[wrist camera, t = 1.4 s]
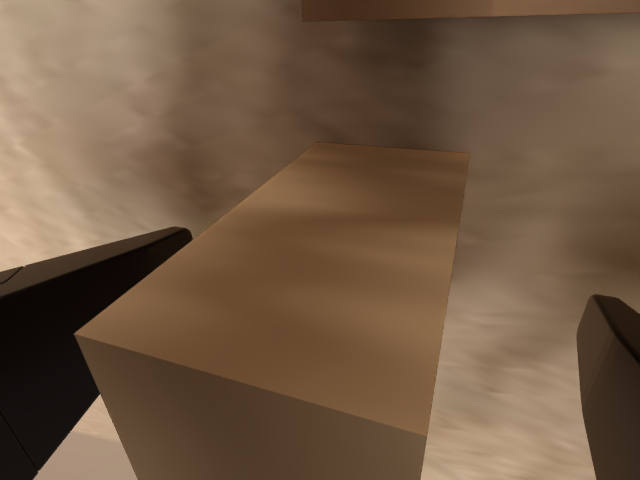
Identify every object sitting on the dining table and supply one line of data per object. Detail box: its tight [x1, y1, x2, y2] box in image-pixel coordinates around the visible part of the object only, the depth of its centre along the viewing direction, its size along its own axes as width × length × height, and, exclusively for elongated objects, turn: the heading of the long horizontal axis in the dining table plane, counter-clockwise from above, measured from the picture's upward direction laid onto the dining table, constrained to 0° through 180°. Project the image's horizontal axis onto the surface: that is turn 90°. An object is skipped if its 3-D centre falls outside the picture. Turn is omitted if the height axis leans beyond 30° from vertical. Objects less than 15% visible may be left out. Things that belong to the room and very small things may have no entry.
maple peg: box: [74, 142, 470, 480], centre depth 8 cm, size 4×4×8 cm
